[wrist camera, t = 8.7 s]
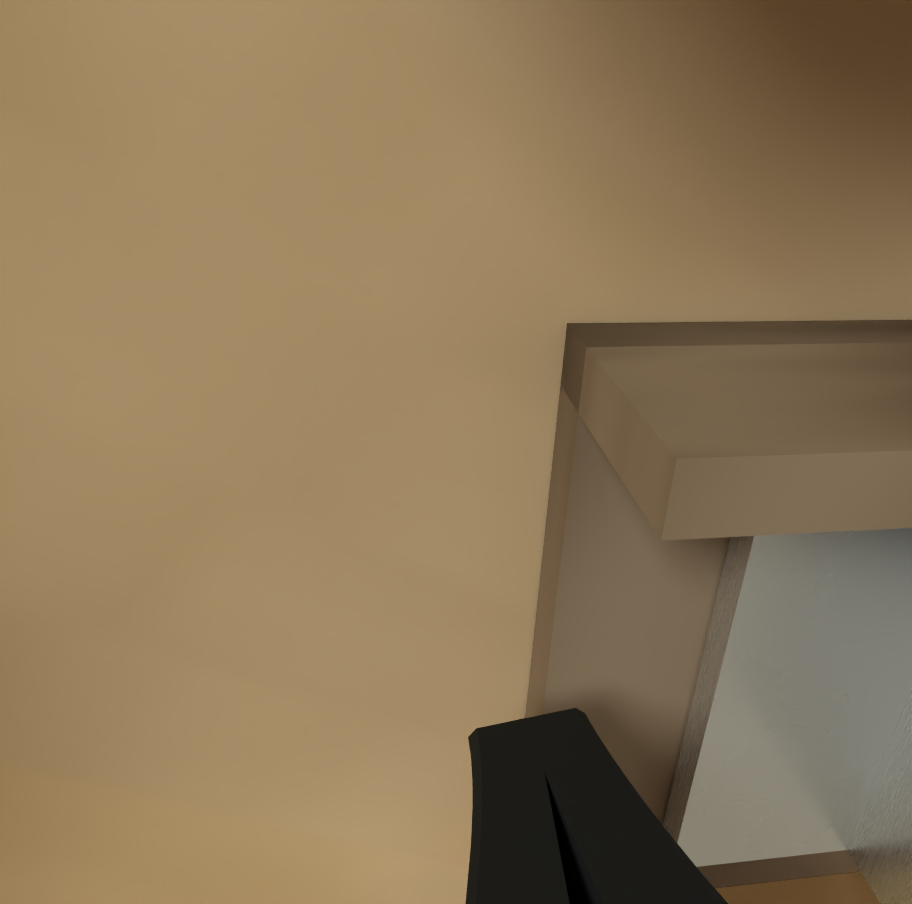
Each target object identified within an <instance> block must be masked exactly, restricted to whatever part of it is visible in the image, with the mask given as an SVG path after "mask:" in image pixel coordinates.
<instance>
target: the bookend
mask: <svg viewBox="0 0 912 904" xmlns="http://www.w3.org/2000/svg"><path fill="white" fill-rule="evenodd" d="M663 826H664V828H665V829H666V830H667V831H668V833H669V834H670V835H671V836H672V837H673V839H674V840H675V841H676V842H677V844H678V845H679V846H680V847H681V849H682V850H683V851H684V852H685V853H686V855H687V856H688V857H689V858H690V860H691V861H692V862H693V863H694V864H695V866H696V867H699V866H708V865H717V864H726V863H735V862H744V861H753V860H761V859H770V858H779V857H788V856H797V855H806V854H815V853H824V852H833V851H842V850H847V851H848V853H849V855H850V856H851V858H852V859H853V861H854V863H855V864H856V866H857V867H858V869H859V870H860V872H861V874H862V875H863V877H864V878H865V880H866V882H867V883H868V885H869V886H870V888H871V889H872V891H873V893H874V894H875V896H876V897H877V899H878V901H879V902H880V904H912V528H898V529H878V530H859V531H839V532H819V533H800V534H780V535H760V536H741V537H730V541H729V545H728V550H727V554H726V558H725V562H724V567H723V571H722V575H721V580H720V584H719V588H718V592H717V597H716V601H715V605H714V609H713V614H712V618H711V622H710V626H709V631H708V635H707V639H706V643H705V648H704V652H703V656H702V661H701V665H700V669H699V673H698V678H697V682H696V686H695V690H694V695H693V699H692V703H691V707H690V712H689V716H688V720H687V724H686V729H685V733H684V737H683V742H682V746H681V750H680V754H679V759H678V763H677V767H676V771H675V776H674V780H673V784H672V788H671V793H670V797H669V801H668V806H667V810H666V814H665V818H664V823H663Z"/></svg>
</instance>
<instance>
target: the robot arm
mask: <svg viewBox="0 0 912 904" xmlns="http://www.w3.org/2000/svg"><path fill="white" fill-rule="evenodd" d="M468 739H469V746H470V752H471V762H472V779H473V811H472V836H471V851H470V862H469V873H468V884H467V895H466V904H728V903H727V902H726V901H725V900H724V899H723V897H722V896H721V895H720V894H719V893H718V892H717V891H716V889H715V888H714V887H713V886H712V885H711V884H710V882H709V881H708V880H707V879H706V878H705V877H704V875H703V874H702V873H701V872H700V871H699V869H698V868H697V867H696V866H695V864H694V863H693V862H692V861H691V860H690V858H689V857H688V856H687V855H686V853H685V852H684V851H683V850H682V849H681V847H680V846H679V845H678V844H677V842H676V841H675V840H674V839H673V837H672V836H671V835H670V834H669V833H668V831H667V830H666V829H665V828H664V826H663V825H662V824H661V823H660V821H659V820H658V819H657V817H656V816H655V815H654V814H653V812H652V811H651V810H650V808H649V807H648V806H647V804H646V803H645V802H644V800H643V799H642V798H641V796H640V795H639V794H638V792H637V791H636V790H635V788H634V787H633V785H632V784H631V783H630V781H629V780H628V779H627V777H626V776H625V774H624V773H623V772H622V770H621V769H620V767H619V766H618V764H617V763H616V762H615V760H614V759H613V757H612V756H611V754H610V753H609V751H608V750H607V748H606V747H605V745H604V744H603V742H602V740H601V739H600V737H599V736H598V734H597V733H596V731H595V729H594V728H593V726H592V724H591V723H590V721H589V719H588V717H587V716H586V714H585V713H584V712H582V711H581V710H579V709H577V708H572V709H567V710H562V711H557V712H553V713H548V714H543V715H538V716H534V717H529V718H524V719H519V720H515V721H510V722H505V723H500V724H496V725H491V726H486V727H481V728H477V729H476V730H475V731H474V732H473V733H472V734H471V735H470V736H469V737H468Z"/></svg>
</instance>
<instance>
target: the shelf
mask: <svg viewBox="0 0 912 904" xmlns="http://www.w3.org/2000/svg"><path fill="white" fill-rule="evenodd" d="M898 528H912V320H857V321H760V322H663V323H567V330H566V340H565V349H564V359H563V368H562V378H561V387H560V396H559V406H558V415H557V425H556V434H555V444H554V453H553V462H552V472H551V481H550V491H549V500H548V510H547V519H546V528H545V538H544V547H543V557H542V566H541V576H540V585H539V594H538V604H537V613H536V623H535V632H534V642H533V651H532V660H531V670H530V679H529V689H528V698H527V707H526V717H525V718H529V717H534V716H538V715H543V714H548V713H553V712H557V711H562V710H567V709H572V708H577V709H579V710H581V711H582V712H584V713H585V714H586V716H587V717H588V719H589V721H590V723H591V724H592V726H593V728H594V729H595V731H596V733H597V734H598V736H599V737H600V739H601V740H602V742H603V744H604V745H605V747H606V748H607V750H608V751H609V753H610V754H611V756H612V757H613V759H614V760H615V762H616V763H617V764H618V766H619V767H620V769H621V770H622V772H623V773H624V774H625V776H626V777H627V779H628V780H629V781H630V783H631V784H632V785H633V787H634V788H635V790H636V791H637V792H638V794H639V795H640V796H641V798H642V799H643V800H644V802H645V803H646V804H647V806H648V807H649V808H650V810H651V811H652V812H653V814H654V815H655V816H656V817H657V819H658V820H659V821H660V823H661V824H662V825H663V823H664V818H665V814H666V810H667V806H668V801H669V797H670V793H671V788H672V784H673V780H674V776H675V771H676V767H677V763H678V759H679V754H680V750H681V746H682V742H683V737H684V733H685V729H686V724H687V720H688V716H689V712H690V707H691V703H692V699H693V695H694V690H695V686H696V682H697V678H698V673H699V669H700V665H701V661H702V656H703V652H704V648H705V643H706V639H707V635H708V631H709V626H710V622H711V618H712V614H713V609H714V605H715V601H716V597H717V592H718V588H719V584H720V580H721V575H722V571H723V567H724V562H725V558H726V554H727V550H728V545H729V541H730V537H741V536H760V535H780V534H800V533H819V532H839V531H859V530H878V529H898ZM697 868H698V869H699V871H700V872H701V873H702V874H703V875H704V877H705V878H706V879H707V880H708V881H709V882H710V884H711V885H712V886H713V887H714V888H722V887H730V886H739V885H748V884H756V883H765V882H773V881H782V880H790V879H799V878H808V877H816V876H825V875H833V874H842V873H851V872H859V871H860V870H859V869H858V867H857V866H856V864H855V863H854V861H853V859H852V858H851V856H850V855H849V853H848V851H847V850H842V851H833V852H824V853H815V854H806V855H797V856H788V857H779V858H770V859H761V860H753V861H744V862H735V863H726V864H717V865H708V866H699V867H697Z"/></svg>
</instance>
